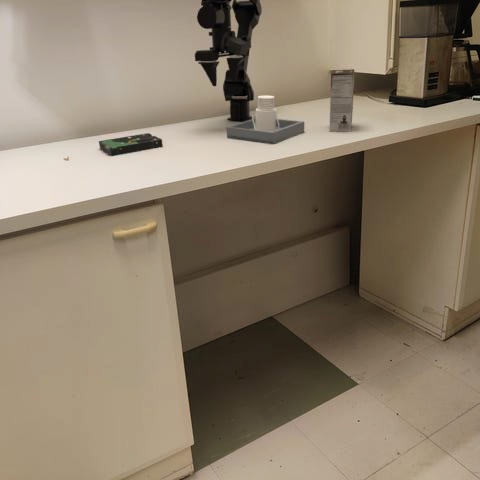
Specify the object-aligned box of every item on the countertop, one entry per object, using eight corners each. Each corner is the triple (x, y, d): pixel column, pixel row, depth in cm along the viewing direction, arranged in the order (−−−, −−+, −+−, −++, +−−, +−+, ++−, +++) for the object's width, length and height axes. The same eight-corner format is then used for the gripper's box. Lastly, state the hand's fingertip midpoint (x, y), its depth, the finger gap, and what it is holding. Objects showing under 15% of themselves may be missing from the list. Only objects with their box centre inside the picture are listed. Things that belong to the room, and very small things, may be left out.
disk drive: (149, 142, 140) (99, 150, 133) (148, 132, 139) (97, 140, 132) (163, 149, 132) (111, 158, 125) (162, 139, 131) (109, 147, 124)
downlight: (248, 134, 137) (248, 97, 132) (256, 128, 143) (257, 94, 138) (274, 136, 134) (275, 99, 130) (282, 131, 140) (283, 95, 136)
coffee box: (330, 125, 147) (331, 69, 140) (351, 124, 145) (354, 68, 139) (329, 131, 139) (330, 73, 132) (351, 131, 137) (354, 72, 130)
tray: (259, 126, 149) (259, 117, 148) (304, 132, 140) (304, 121, 138) (227, 137, 138) (226, 127, 136) (273, 144, 128) (273, 132, 127)
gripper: (221, 28, 127) (225, 89, 134) (262, 25, 140) (264, 81, 147) (191, 29, 134) (196, 87, 140) (233, 26, 147) (235, 79, 153)
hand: (224, 84), depth 145 cm, fingers open, 9 cm apart
